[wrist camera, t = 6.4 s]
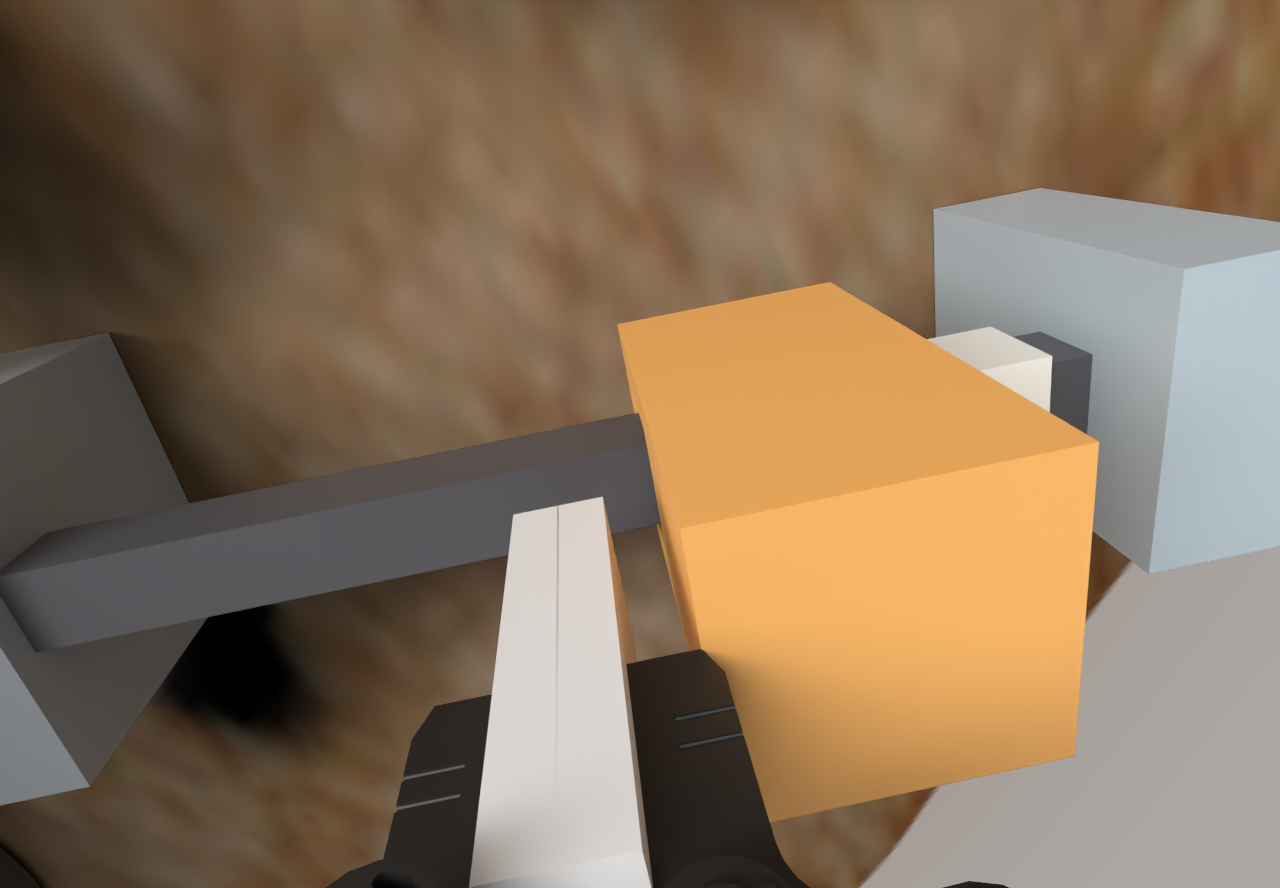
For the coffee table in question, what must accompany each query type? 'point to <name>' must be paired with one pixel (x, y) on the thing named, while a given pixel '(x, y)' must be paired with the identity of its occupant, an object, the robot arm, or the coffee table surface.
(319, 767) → the coffee table surface
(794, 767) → the orange sliding sleeve
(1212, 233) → the rail rig
